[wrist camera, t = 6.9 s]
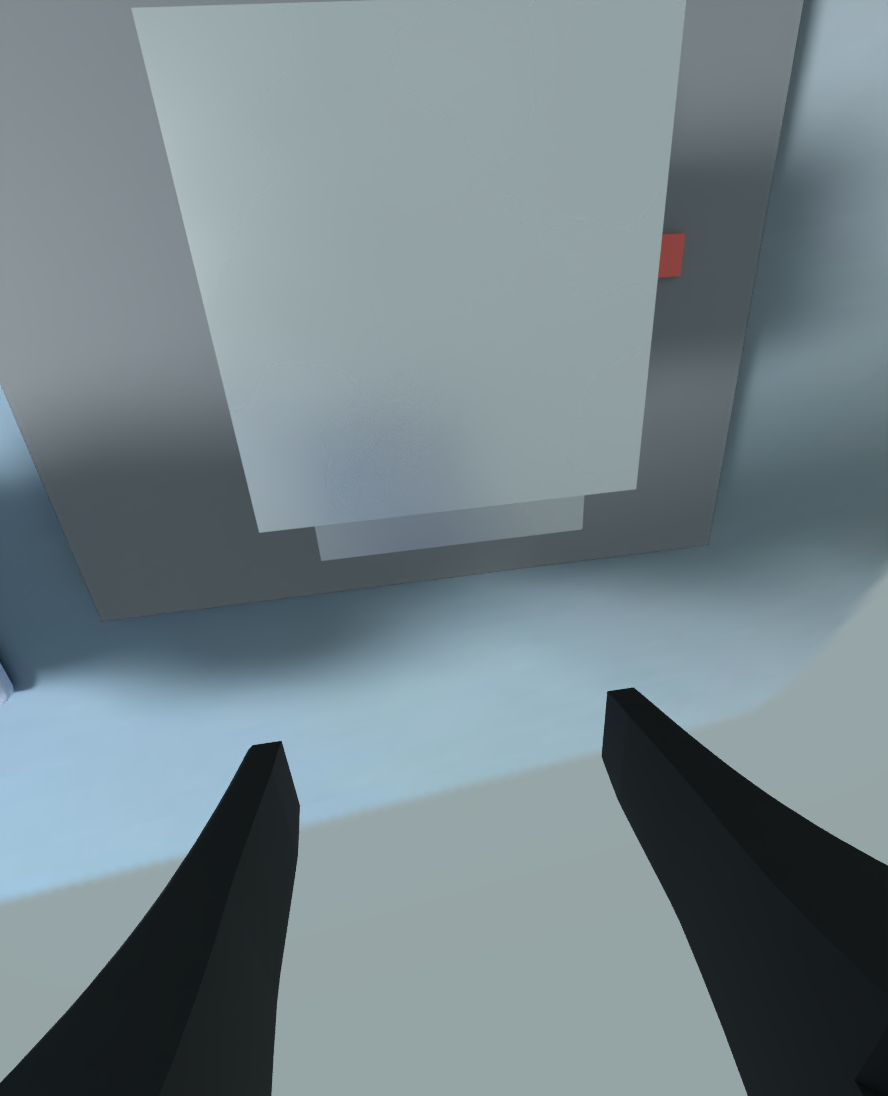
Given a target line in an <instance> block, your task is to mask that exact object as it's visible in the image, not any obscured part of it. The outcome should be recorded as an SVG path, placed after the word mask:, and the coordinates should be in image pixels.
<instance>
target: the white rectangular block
mask: <svg viewBox="0 0 888 1096" xmlns="http://www.w3.org/2000/svg"><path fill="white" fill-rule="evenodd" d="M685 8H686V0H365V1H333V2H301V3H269V4H237V5H205V6H173V7H141V8H131V10H132V14H133V18H134V22H135V26H136V30H137V34H138V38H139V42H140V46H141V51H142V55H143V59H144V63H145V67H146V71H147V75H148V79H149V83H150V87H151V92H152V96H153V100H154V104H155V108H156V112H157V116H158V120H159V124H160V128H161V132H162V137H163V141H164V145H165V149H166V153H167V157H168V161H169V165H170V169H171V173H172V178H173V182H174V186H175V190H176V194H177V198H178V202H179V206H180V210H181V214H182V218H183V223H184V227H185V231H186V235H187V239H188V243H189V247H190V251H191V255H192V259H193V264H194V268H195V272H196V276H197V280H198V284H199V288H200V292H201V296H202V300H203V305H204V309H205V313H206V317H207V321H208V325H209V329H210V333H211V337H212V341H213V345H214V350H215V354H216V358H217V362H218V366H219V370H220V374H221V378H222V382H223V386H224V391H225V395H226V399H227V403H228V407H229V411H230V415H231V419H232V423H233V427H234V431H235V436H236V440H237V444H238V448H239V452H240V456H241V460H242V464H243V468H244V472H245V477H246V481H247V485H248V489H249V493H250V497H251V501H252V505H253V509H254V513H255V517H256V522H257V526H258V530H259V533H262V532H270V531H279V530H287V529H296V528H305V527H313V526H315V530H316V536H317V541H318V546H319V551H320V556H321V561H325V560H334V559H342V558H350V557H358V556H367V555H375V554H383V553H391V552H400V551H408V550H416V549H424V548H433V547H441V546H449V545H457V544H466V543H474V542H482V541H490V540H499V539H507V538H515V537H523V536H532V535H540V534H548V533H556V532H565V531H573V530H581V529H582V527H583V509H584V495H590V494H599V493H608V492H616V491H625V490H634V489H636V486H637V477H638V467H639V457H640V447H641V438H642V428H643V418H644V408H645V398H646V389H647V379H648V369H649V359H650V350H651V340H652V330H653V320H654V310H655V301H656V291H657V281H658V271H659V262H660V252H661V242H662V232H663V223H664V213H665V203H666V193H667V183H668V174H669V164H670V154H671V144H672V135H673V125H674V115H675V105H676V96H677V86H678V76H679V66H680V56H681V47H682V37H683V27H684V17H685Z"/></svg>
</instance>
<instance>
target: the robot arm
mask: <svg viewBox="0 0 888 1096" xmlns="http://www.w3.org/2000/svg"><path fill="white" fill-rule="evenodd" d="M13 691H14V688H13V685H12V683H11V681H10V679H9V678H8V676H7V674H6V672H5V670H4V669H3V667H2V665H1V663H0V704H3V703H5V702H6V701H7V700H8V699H9V698H10V697H11V695H12V694H13ZM602 759H603V761H604V764H605V767H606V770H607V772H608V775H609V777H610V781H611V783H612V786H613V788H614V790H615V793H616V796H617V799H618V801H619V803H620V805H621V807H622V809H623V811H624V813H625V815H626V817H627V819H628V821H629V823H630V825H631V827H632V828H633V831H634V832H635V835H636V837H637V838H638V840H639V842H640V844H641V846H642V848H643V850H644V852H645V854H646V856H647V858H648V860H649V861H650V863H651V865H652V867H653V869H654V871H655V873H656V875H657V877H658V879H659V881H660V883H661V885H662V886H663V889H664V890H665V892H666V894H667V896H668V898H669V900H670V902H671V904H672V906H673V908H674V910H675V913H676V915H677V917H678V919H679V921H680V923H681V926H682V928H683V930H684V933H685V935H686V938H687V940H688V942H689V945H690V947H691V950H692V952H693V954H694V957H695V959H696V962H697V964H698V967H699V969H700V972H701V974H702V977H703V979H704V981H705V984H706V987H707V989H708V992H709V994H710V997H711V999H712V1002H713V1004H714V1007H715V1010H716V1012H717V1015H718V1017H719V1020H720V1022H721V1025H722V1027H723V1030H724V1033H725V1035H726V1038H727V1041H728V1043H729V1046H730V1048H731V1051H732V1054H733V1057H734V1059H735V1062H736V1065H737V1067H738V1070H739V1073H740V1075H741V1078H742V1081H743V1084H744V1086H745V1089H746V1092H747V1095H748V1096H888V865H886V864H884V863H882V862H880V861H878V860H876V859H874V858H873V857H871V856H869V855H867V854H865V853H864V852H862V851H860V850H858V849H856V848H855V847H853V846H851V845H849V844H848V843H846V842H844V841H842V840H840V839H838V838H837V837H835V836H833V835H832V834H830V833H828V832H827V831H825V830H823V829H822V828H820V827H818V826H816V825H815V824H813V823H812V822H810V821H809V820H807V819H805V818H804V817H802V816H801V815H799V814H798V813H796V812H795V811H793V810H791V809H790V808H788V807H787V806H785V805H783V804H782V803H780V802H779V801H777V800H776V799H775V798H773V797H772V796H770V795H768V794H767V793H766V792H764V791H763V790H761V789H760V788H759V787H757V786H756V785H754V784H753V783H752V782H750V781H749V780H747V779H746V778H745V777H743V776H742V775H741V774H739V773H738V772H736V771H735V770H734V769H732V768H731V767H730V766H729V765H727V764H726V763H725V762H723V761H722V760H721V759H719V758H718V757H717V756H715V755H714V754H713V753H712V752H711V751H709V750H708V749H707V748H706V747H704V746H703V745H702V744H700V743H699V742H698V741H697V740H695V739H694V738H693V737H692V736H691V735H689V734H688V733H687V732H686V731H685V730H683V729H682V728H681V727H680V726H679V725H677V724H676V723H675V722H674V721H673V720H671V719H670V718H669V717H668V716H667V715H666V714H664V713H663V712H662V711H661V710H660V709H659V708H657V707H656V706H655V705H654V704H653V703H652V702H650V701H649V700H648V699H647V698H646V697H644V696H643V695H642V694H641V693H640V692H638V691H637V690H636V689H635V688H634V687H633V688H627V689H620V690H614V691H607V702H606V713H605V725H604V736H603V747H602ZM299 814H300V805H299V801H298V798H297V794H296V790H295V787H294V783H293V780H292V776H291V773H290V769H289V766H288V762H287V759H286V755H285V752H284V748H283V745H282V741H278V742H271V743H265V744H258V745H252V746H251V748H250V749H249V750H248V752H247V753H246V755H245V757H244V759H243V761H242V763H241V765H240V767H239V769H238V770H237V772H236V774H235V776H234V778H233V780H232V781H231V783H230V785H229V787H228V789H227V790H226V792H225V794H224V796H223V797H222V799H221V801H220V803H219V804H218V806H217V808H216V809H215V811H214V813H213V814H212V816H211V818H210V819H209V821H208V823H207V824H206V826H205V827H204V829H203V831H202V832H201V834H200V836H199V837H198V839H197V841H196V842H195V844H194V845H193V847H192V848H191V850H190V851H189V853H188V854H187V856H186V857H185V859H184V860H183V862H182V863H181V865H180V866H179V868H178V869H177V871H176V872H175V874H174V875H173V877H172V878H171V880H170V882H169V883H168V884H167V886H166V887H165V889H164V890H163V892H162V893H161V894H160V896H159V897H158V899H157V900H156V901H155V903H154V904H153V906H152V907H151V908H150V910H149V911H148V912H147V914H146V915H145V916H144V918H143V919H142V920H141V922H140V923H139V924H138V926H137V927H136V928H135V929H134V931H133V932H132V933H131V935H130V936H129V937H128V939H127V940H126V941H125V942H124V944H123V945H122V946H121V948H120V949H119V950H118V951H117V952H116V954H115V955H114V956H113V957H112V959H111V960H110V961H109V962H108V963H107V965H106V966H105V967H104V968H103V969H102V971H101V972H100V973H99V974H98V976H97V977H96V978H95V979H94V980H93V982H92V983H91V984H90V985H89V987H88V988H87V989H86V990H85V991H84V992H83V993H82V995H81V996H80V997H79V998H78V999H77V1000H76V1002H75V1003H74V1004H73V1005H72V1006H71V1007H70V1008H69V1010H68V1011H67V1012H66V1013H65V1014H64V1015H63V1016H62V1017H61V1018H60V1019H59V1020H58V1021H57V1023H56V1024H55V1025H54V1026H53V1027H52V1028H51V1029H50V1030H49V1031H48V1032H47V1033H46V1035H45V1036H44V1037H43V1038H42V1039H41V1040H40V1041H39V1042H38V1043H37V1044H36V1045H35V1047H34V1048H33V1049H32V1050H31V1051H30V1052H29V1053H28V1054H27V1055H26V1056H25V1057H24V1059H22V1061H21V1062H20V1063H19V1064H18V1065H17V1066H16V1067H15V1068H14V1069H13V1070H12V1071H11V1072H10V1073H9V1074H8V1075H7V1076H6V1077H5V1078H4V1080H3V1081H2V1082H1V1083H0V1096H271V1090H272V1073H273V1054H274V1040H275V1025H276V1010H277V998H278V989H279V979H280V972H281V965H282V958H283V952H284V945H285V939H286V932H287V926H288V919H289V912H290V906H291V899H292V892H293V885H294V879H295V872H296V865H297V857H298V840H299Z"/></svg>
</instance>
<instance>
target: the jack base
mask: <svg viewBox="0 0 888 1096" xmlns="http://www.w3.org/2000/svg"><path fill="white" fill-rule="evenodd" d="M333 1H365V0H0V385H1V387H2V389H3V392H4V394H5V396H6V399H7V401H8V403H9V406H10V408H11V410H12V413H13V415H14V417H15V420H16V422H17V424H18V427H19V429H20V432H21V434H22V436H23V439H24V441H25V443H26V446H27V448H28V450H29V453H30V455H31V457H32V460H33V462H34V464H35V467H36V469H37V471H38V474H39V476H40V478H41V481H42V483H43V485H44V488H45V490H46V493H47V495H48V497H49V500H50V502H51V504H52V507H53V509H54V511H55V514H56V516H57V518H58V521H59V523H60V525H61V528H62V530H63V532H64V535H65V537H66V539H67V542H68V544H69V547H70V549H71V551H72V554H73V556H74V558H75V561H76V563H77V565H78V568H79V570H80V572H81V575H82V577H83V579H84V582H85V584H86V586H87V589H88V591H89V593H90V596H91V598H92V600H93V603H94V605H95V608H96V610H97V612H98V615H99V617H100V619H101V622H102V621H110V620H118V619H126V618H134V617H142V616H150V615H157V614H165V613H173V612H181V611H189V610H197V609H205V608H213V607H221V606H229V605H236V604H244V603H252V602H260V601H268V600H276V599H284V598H292V597H300V596H308V595H316V594H323V593H331V592H339V591H347V590H355V589H363V588H371V587H379V586H387V585H395V584H402V583H410V582H418V581H426V580H434V579H442V578H450V577H458V576H466V575H474V574H482V573H489V572H497V571H505V570H513V569H521V568H529V567H537V566H545V565H553V564H561V563H568V562H576V561H584V560H592V559H600V558H608V557H616V556H624V555H632V554H640V553H648V552H655V551H663V550H671V549H679V548H687V547H695V546H703V545H708V543H709V538H710V532H711V526H712V521H713V515H714V509H715V504H716V498H717V492H718V486H719V481H720V475H721V469H722V464H723V458H724V452H725V447H726V441H727V435H728V430H729V424H730V418H731V412H732V407H733V401H734V395H735V390H736V384H737V378H738V373H739V367H740V361H741V355H742V350H743V344H744V338H745V333H746V327H747V321H748V316H749V310H750V304H751V298H752V293H753V287H754V281H755V276H756V270H757V264H758V259H759V253H760V247H761V241H762V236H763V230H764V224H765V219H766V213H767V207H768V202H769V196H770V190H771V184H772V179H773V173H774V167H775V162H776V156H777V150H778V145H779V139H780V133H781V127H782V122H783V116H784V110H785V105H786V99H787V93H788V88H789V82H790V76H791V71H792V65H793V59H794V53H795V48H796V42H797V36H798V31H799V25H800V19H801V14H802V8H803V2H804V0H686V8H685V17H684V27H683V37H682V47H681V56H680V66H679V76H678V86H677V96H676V105H675V115H674V125H673V135H672V144H671V154H670V164H669V174H668V183H667V193H666V203H665V213H664V223H663V232H662V242H661V252H660V262H659V271H658V281H657V291H656V301H655V310H654V320H653V330H652V340H651V350H650V359H649V369H648V379H647V389H646V398H645V408H644V418H643V428H642V438H641V447H640V457H639V467H638V477H637V486H636V489H634V490H625V491H616V492H608V493H599V494H590V495H584V509H583V527H582V529H581V530H573V531H565V532H556V533H548V534H540V535H532V536H523V537H515V538H507V539H499V540H490V541H482V542H474V543H466V544H457V545H449V546H441V547H433V548H424V549H416V550H408V551H400V552H391V553H383V554H375V555H367V556H358V557H350V558H342V559H334V560H325V561H321V556H320V551H319V546H318V541H317V536H316V530H315V526H313V527H305V528H296V529H287V530H279V531H270V532H262V533H259V530H258V526H257V522H256V517H255V513H254V509H253V505H252V501H251V497H250V493H249V489H248V485H247V481H246V477H245V472H244V468H243V464H242V460H241V456H240V452H239V448H238V444H237V440H236V436H235V431H234V427H233V423H232V419H231V415H230V411H229V407H228V403H227V399H226V395H225V391H224V386H223V382H222V378H221V374H220V370H219V366H218V362H217V358H216V354H215V350H214V345H213V341H212V337H211V333H210V329H209V325H208V321H207V317H206V313H205V309H204V305H203V300H202V296H201V292H200V288H199V284H198V280H197V276H196V272H195V268H194V264H193V259H192V255H191V251H190V247H189V243H188V239H187V235H186V231H185V227H184V223H183V218H182V214H181V210H180V206H179V202H178V198H177V194H176V190H175V186H174V182H173V178H172V173H171V169H170V165H169V161H168V157H167V153H166V149H165V145H164V141H163V137H162V132H161V128H160V124H159V120H158V116H157V112H156V108H155V104H154V100H153V96H152V92H151V87H150V83H149V79H148V75H147V71H146V67H145V63H144V59H143V55H142V51H141V46H140V42H139V38H138V34H137V30H136V26H135V22H134V18H133V14H132V10H131V8H141V7H173V6H205V5H237V4H269V3H301V2H333Z"/></svg>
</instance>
